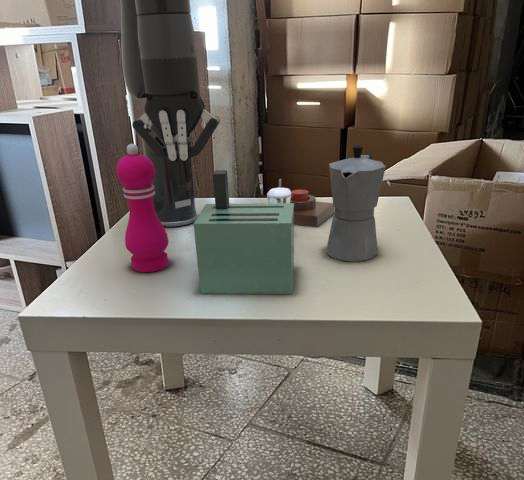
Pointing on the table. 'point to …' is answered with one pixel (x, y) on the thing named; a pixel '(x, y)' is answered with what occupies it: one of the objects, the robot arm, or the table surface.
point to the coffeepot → (354, 206)
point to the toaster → (245, 248)
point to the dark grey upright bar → (221, 189)
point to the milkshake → (279, 195)
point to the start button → (299, 195)
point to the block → (311, 211)
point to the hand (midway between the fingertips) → (183, 184)
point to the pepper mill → (142, 213)
